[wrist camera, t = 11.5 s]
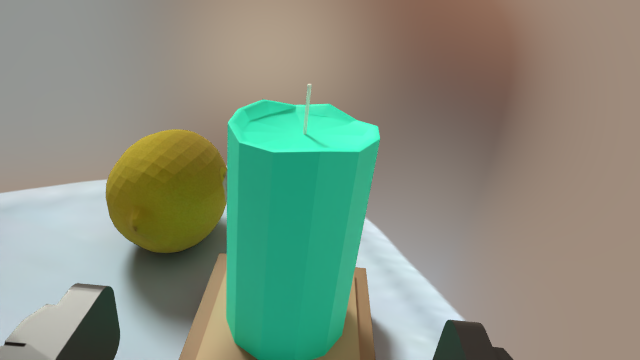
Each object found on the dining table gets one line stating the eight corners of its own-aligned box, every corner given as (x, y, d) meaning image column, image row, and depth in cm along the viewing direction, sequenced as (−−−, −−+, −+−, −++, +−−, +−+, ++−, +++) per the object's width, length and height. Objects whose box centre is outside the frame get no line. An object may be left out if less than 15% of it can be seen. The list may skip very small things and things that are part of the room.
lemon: (190, 293, 26) (185, 183, 23) (79, 265, 27) (57, 155, 24) (251, 208, 36) (255, 119, 32) (167, 189, 37) (161, 102, 33)
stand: (172, 429, 19) (168, 383, 17) (219, 290, 27) (219, 249, 25) (369, 448, 19) (381, 403, 18) (358, 304, 27) (366, 265, 26)
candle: (357, 360, 19) (413, 116, 14) (225, 371, 18) (227, 107, 13) (331, 273, 25) (363, 69, 19) (226, 277, 23) (228, 59, 18)
